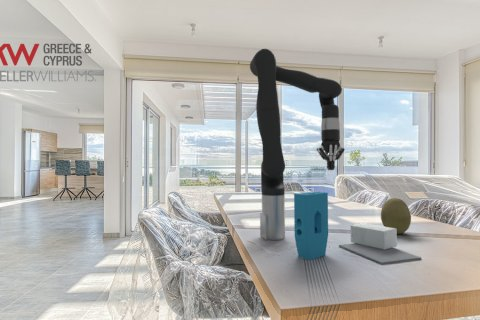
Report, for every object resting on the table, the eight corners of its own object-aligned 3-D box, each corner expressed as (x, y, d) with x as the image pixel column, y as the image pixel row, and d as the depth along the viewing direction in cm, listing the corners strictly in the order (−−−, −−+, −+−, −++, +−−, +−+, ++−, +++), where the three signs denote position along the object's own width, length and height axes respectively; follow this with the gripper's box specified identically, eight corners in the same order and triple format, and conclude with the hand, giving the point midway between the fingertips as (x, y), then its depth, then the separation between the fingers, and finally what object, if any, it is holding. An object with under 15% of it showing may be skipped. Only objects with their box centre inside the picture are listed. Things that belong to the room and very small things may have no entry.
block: (306, 261, 88) (305, 195, 89) (293, 257, 92) (292, 193, 93) (329, 253, 96) (329, 192, 96) (317, 250, 100) (316, 191, 100)
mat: (381, 264, 85) (381, 262, 85) (338, 246, 104) (338, 244, 104) (421, 259, 89) (421, 257, 89) (373, 243, 108) (373, 241, 108)
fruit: (377, 233, 124) (376, 198, 124) (385, 229, 132) (385, 195, 132) (407, 237, 116) (406, 200, 116) (414, 232, 124) (413, 197, 125)
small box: (350, 242, 108) (384, 250, 97) (350, 225, 108) (383, 230, 97) (363, 239, 112) (397, 246, 101) (363, 222, 113) (397, 228, 102)
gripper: (321, 127, 119) (322, 170, 119) (349, 128, 123) (349, 170, 123) (312, 130, 127) (312, 170, 126) (338, 131, 131) (338, 169, 130)
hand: (330, 170), depth 125 cm, fingers closed
